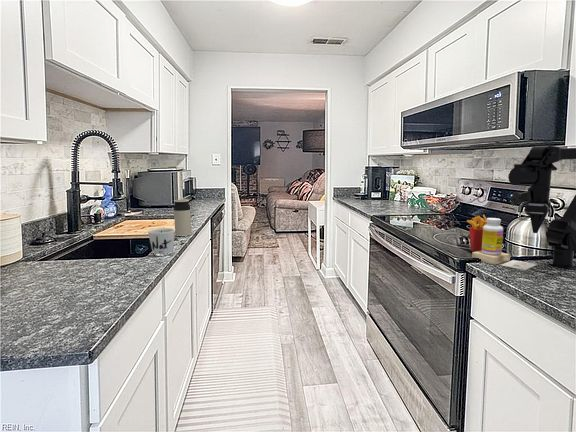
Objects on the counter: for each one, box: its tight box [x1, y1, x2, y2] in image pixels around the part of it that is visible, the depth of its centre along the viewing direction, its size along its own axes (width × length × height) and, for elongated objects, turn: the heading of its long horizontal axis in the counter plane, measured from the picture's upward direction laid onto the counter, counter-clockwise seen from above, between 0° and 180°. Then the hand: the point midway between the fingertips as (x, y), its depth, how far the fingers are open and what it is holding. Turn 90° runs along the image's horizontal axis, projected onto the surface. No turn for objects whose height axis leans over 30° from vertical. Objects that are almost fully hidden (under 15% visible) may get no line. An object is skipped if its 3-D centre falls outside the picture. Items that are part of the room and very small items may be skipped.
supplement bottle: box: [482, 217, 504, 255], centre depth 147 cm, size 7×7×13 cm
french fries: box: [466, 214, 487, 252], centre depth 159 cm, size 9×8×15 cm
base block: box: [471, 251, 511, 265], centre depth 148 cm, size 9×9×2 cm
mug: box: [147, 228, 175, 253], centre depth 166 cm, size 10×15×10 cm
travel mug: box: [173, 198, 192, 236], centre depth 202 cm, size 8×8×18 cm
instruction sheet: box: [501, 259, 538, 271], centre depth 141 cm, size 10×8×1 cm
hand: (536, 230), depth 135 cm, fingers open, 9 cm apart
